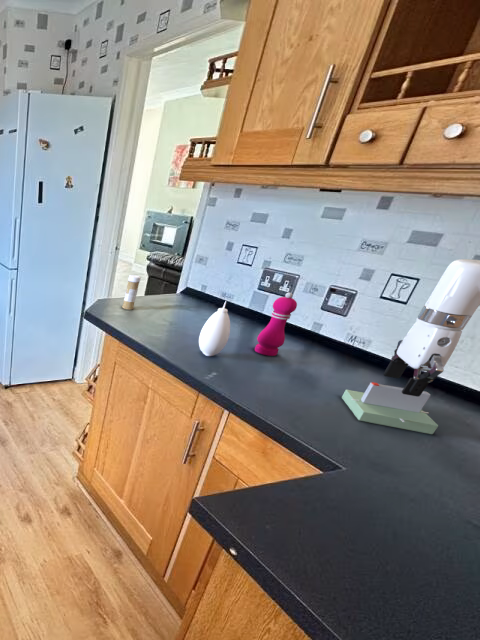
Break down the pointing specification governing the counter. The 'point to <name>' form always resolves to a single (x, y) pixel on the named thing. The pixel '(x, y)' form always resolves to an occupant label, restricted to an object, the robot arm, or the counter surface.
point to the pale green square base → (388, 414)
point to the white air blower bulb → (215, 332)
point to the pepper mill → (276, 326)
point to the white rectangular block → (393, 397)
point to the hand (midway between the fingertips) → (400, 385)
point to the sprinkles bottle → (131, 292)
